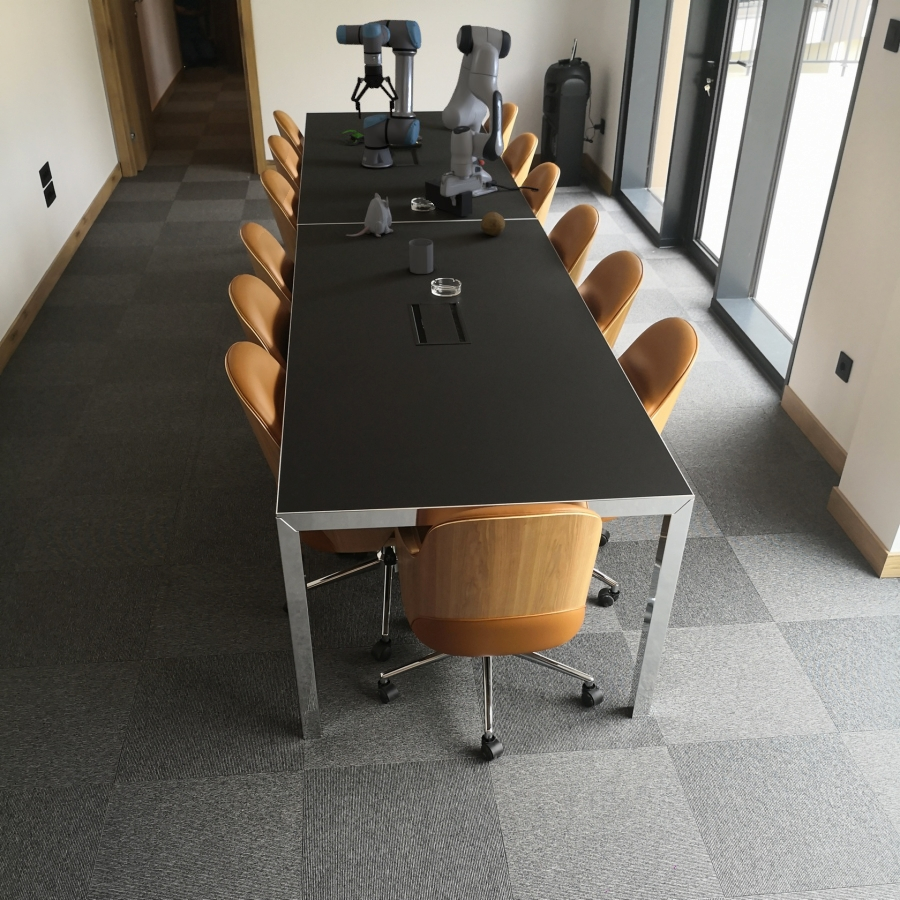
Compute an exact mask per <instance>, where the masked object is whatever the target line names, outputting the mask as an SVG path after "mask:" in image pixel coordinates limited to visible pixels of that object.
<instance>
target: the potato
mask: <svg viewBox="0 0 900 900" xmlns="http://www.w3.org/2000/svg"><path fill="white" fill-rule="evenodd" d="M505 226H506V220H505V218H504V217H503V215H501V214H500V213H498V212H496V211H490V212H487V213H485V214H484V215H483V217H482V218H481V222H480V229H481V231H482V232H483V233H485V234H486V235H489V236H491V237H493V236H498V235H499V234H502V233H503V232H504V229H505Z"/></svg>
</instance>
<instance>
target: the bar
mask: <svg viewBox="0 0 900 900" xmlns="http://www.w3.org/2000/svg"><path fill="white" fill-rule="evenodd" d="M440 187H441V180H439V179H436V178H435V179H430V180H426V181H424V192H425V193H424V197H425V199H426V200H429V201H431V202H432V203H433V204H434V206H433V207H436V208H437V209H440V210H443V211H446V212H449V213H452V214H454V215H457V216H459V217H464V216H468V215H472V214H473V197H472V191H466V192H462V193H459V194H457V195H456V197H455V200H456V201H458V204H457V205H455V206H454V205H452V200H451V198H450V196H449V197H444V196H442V195H441V194H440Z"/></svg>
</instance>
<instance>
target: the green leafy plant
mask: <svg viewBox="0 0 900 900" xmlns="http://www.w3.org/2000/svg"><path fill="white" fill-rule="evenodd" d="M349 132H352V133H351V134H349V136H350V138H349V140H350V141H353V142H348V141H345V140H342V139H340V142H342V143H344V144H345V145H349V146H356V145H358V144H360V143H362V142H365V141H364V133H362V132H359V131H358V130H357V129H346V130H345V131H342V132H340V134H345V133H349Z"/></svg>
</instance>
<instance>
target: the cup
mask: <svg viewBox="0 0 900 900" xmlns="http://www.w3.org/2000/svg"><path fill="white" fill-rule="evenodd" d="M408 253H409V272H411V273H412V274H416V275H426V274H430V273H432V272H434V241H433V240H431V239H428V238H422V237H421V238H420V237H419V238H414V239H411V240H410V241H409V242H408Z"/></svg>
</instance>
